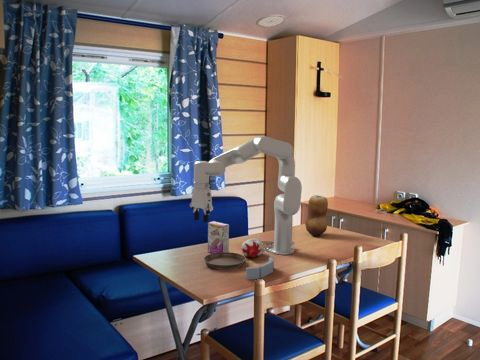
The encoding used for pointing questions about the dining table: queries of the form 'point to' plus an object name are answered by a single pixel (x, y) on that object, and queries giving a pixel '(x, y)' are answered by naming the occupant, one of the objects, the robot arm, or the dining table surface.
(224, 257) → the plant saucer
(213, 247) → the candy bar box
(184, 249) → the dining table surface
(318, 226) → the butternut squash
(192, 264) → the dining table surface
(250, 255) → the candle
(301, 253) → the dining table surface
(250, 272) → the grey curved bar
